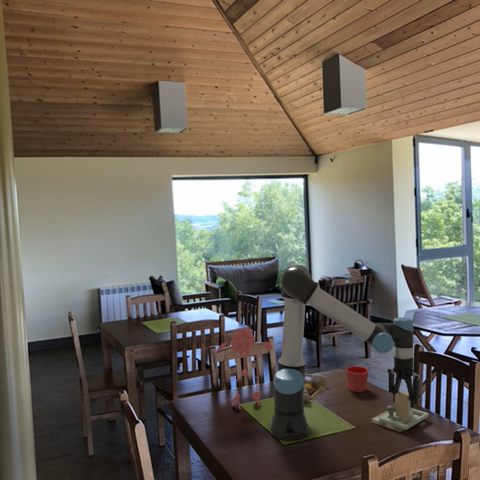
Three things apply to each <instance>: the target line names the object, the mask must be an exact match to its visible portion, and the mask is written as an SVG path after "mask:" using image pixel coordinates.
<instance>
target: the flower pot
mask: <svg viewBox="0 0 480 480" xmlns="http://www.w3.org/2000/svg"><path fill="white" fill-rule="evenodd" d="M345 371H346V373H345V374H346V378H347V384H348V389H349V391H351V392H357V393H362V392H365V391H366V389H367V384H368V383H367V382H368V378H369V377H368V376H369V369H368V368H366V367H363V366H354V365H353V366H348V367H347V368H345Z"/></svg>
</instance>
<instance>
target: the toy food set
mask: <svg viewBox="0 0 480 480" xmlns="http://www.w3.org/2000/svg"><path fill="white" fill-rule="evenodd" d="M306 377H308V378H311V379H310V380H308V379H307V380H306V379H305V382H304V402H306V403H312V402H313V401H314V400H315V399H316V398H317V397H318V396H319V395H321V393H323V392H324V391H325V390H326V389H327V387H328V380H329V379H328V376H325V375H320V374H319V375H318V374H312V373H311V374H310V373H305V378H306ZM273 392H274V388H273Z"/></svg>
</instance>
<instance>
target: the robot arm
mask: <svg viewBox="0 0 480 480" xmlns="http://www.w3.org/2000/svg"><path fill="white" fill-rule="evenodd" d="M280 286H281V298H282V299H283V300H284V306H283V307H284V309H283V312H284V313H283V328H282V343H281V344H282V345H281V346H282V347H281V357H279V358H278V360H277V367H276V372H274V375H273V380H272V383H273V389H274V391H273V403H274V404H273V407H274V410H273V416H272V419H271V423H270V427H269V429H270V431H269V432H270V434H271V435H272V436H273V437H274V438H277V439H279V440H283V441H284V440H285V441H286V440H287V441H296V440H297V441H298V440H301V439H304V438H306V437H307V436H308V435H309V433H310V429H309V427H310V426H309V423H308V421H307V418H306V414H305V406H304V405H305V404H304V402H305V401H304V382H305V380H306V377H305V374H306V361H305V359H304V358H303V351H304V350H303V346H304V332H305V331H304V330H305V316H306V315H305V313H306V306H311V307H312V308H314V309H315V310H316V311H318V312H319V313H321V314H323V315H324V316H326V317H328V319H331V320H332V321H334V322H335V323H337V324H338V325H340V326H341V327H343V328H344V329H346V330H348V331H349V332H351V333H352V334H354V335H355V336H357V337H359V339H361V340H363V341H365V342H366V343H367V344H368V345H370V346H371V347H373V349H374V350H376V352H378V353H381V354H387V353H389V352H390V351H391V350H392V349H393V365H394V367H390V368H387V369H386V370H387V374H388V393H390V394H391V395H392V402H393V403H394V404H395V394H396V393H398V392H400V387H401V385H402V384H401V383H402V380H403V381H404V383H405V385H406V389H407V393H408V394H409V398H410V399H408V416H411V415H413V409H415V406H416V401H417V400H419V399H420V397H421V395H420V394H421V392H420V391H421V389H420V380H421V377H422V375H421V374H418V373H416V372H415V371H414V370H415V369H414V365H415V363H414V332H415V330H414V323H413V320H412V319H411V318H408V317H395V318H393V321H392V322H390V323H389V322H388V323H387V322H373V321H371V320H369V319H368V318H366V317H365V316H363V315H361V314H360V313H358V312H357V311H355V310H354V309H352V308H351V307H350V306H348V305H346V304H344V303H343V302H342V301H340V300H339V299H337V298H336V297H334V296H333V295H331V294H329V293H328V292H326V291H325V290H324V289H321V287H320V284H319V283H318V282H316V281H314V280H313V279H312V276H311V273H310V270H309V269H308V268H307V267H306V266H304V265H301V264H291V265H289V266H288V267H286V268H285V269H284V271H283V274H282V275H281V277H280ZM395 375H396V376H395Z"/></svg>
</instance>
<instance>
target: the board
mask: <svg viewBox="0 0 480 480" xmlns="http://www.w3.org/2000/svg"><path fill="white" fill-rule="evenodd" d="M395 411H396V408H395V405H387V406H386V411H384V412H382V413H380V414H378V415H377V416H374V417H372V418H371V423H373V424H375V425H379V426H382V427H384V428H387V429H390V430H393V431H397V432H399V433H402V432H403V431H406V430H405V429H402V428H399V427H396V426H393V425H390V424H387V423H384V422H381V421H379V417H381V416H383V415H385V414H387V413H389V418H390V419H393V420H394V412H395ZM413 416H416V417H420V416H421V415H418V414H415V413H413ZM395 422H398V423H401V424H404V425H407V424H408V422H405V421H402V420H400V421H397V420H395Z"/></svg>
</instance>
